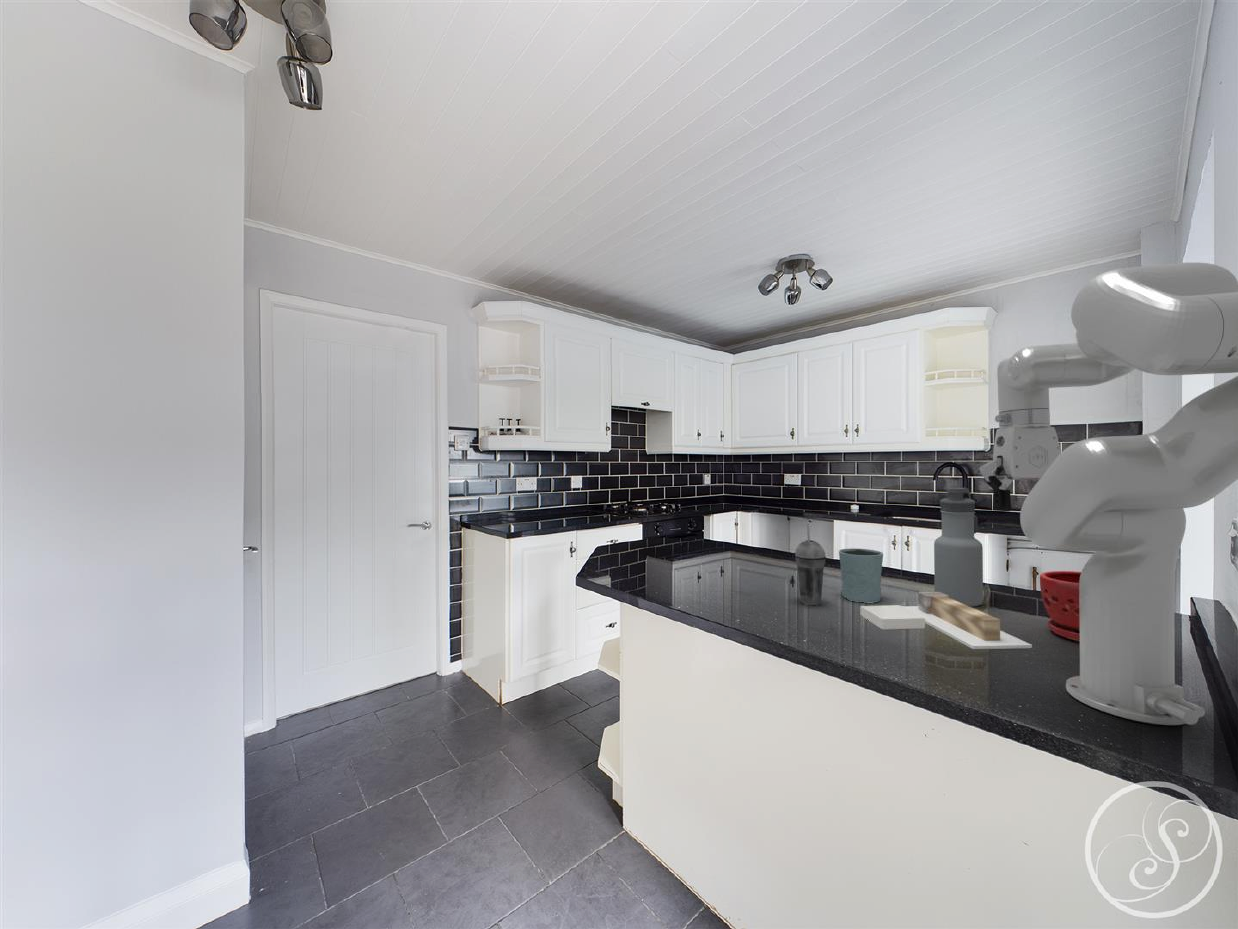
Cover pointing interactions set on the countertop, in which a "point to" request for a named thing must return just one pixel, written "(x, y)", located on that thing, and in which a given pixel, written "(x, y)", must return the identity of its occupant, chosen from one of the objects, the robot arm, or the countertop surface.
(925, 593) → the wooden beam
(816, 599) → the beverage cup
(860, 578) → the teal round container
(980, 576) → the water bottle
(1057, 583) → the plant pot
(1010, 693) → the countertop surface
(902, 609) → the tile
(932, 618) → the rest mat
